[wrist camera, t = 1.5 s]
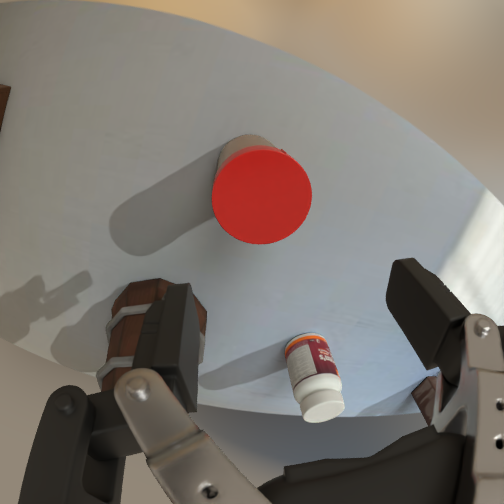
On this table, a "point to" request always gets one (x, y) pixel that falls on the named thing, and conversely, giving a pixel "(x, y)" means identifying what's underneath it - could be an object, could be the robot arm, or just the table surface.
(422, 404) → the box
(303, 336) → the pill bottle
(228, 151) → the jar
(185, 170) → the table surface
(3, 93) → the tray
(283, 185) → the lid
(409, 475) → the robot arm
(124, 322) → the mug
